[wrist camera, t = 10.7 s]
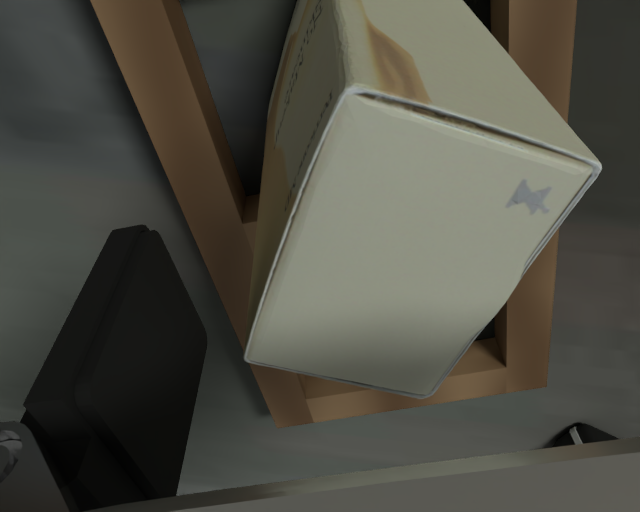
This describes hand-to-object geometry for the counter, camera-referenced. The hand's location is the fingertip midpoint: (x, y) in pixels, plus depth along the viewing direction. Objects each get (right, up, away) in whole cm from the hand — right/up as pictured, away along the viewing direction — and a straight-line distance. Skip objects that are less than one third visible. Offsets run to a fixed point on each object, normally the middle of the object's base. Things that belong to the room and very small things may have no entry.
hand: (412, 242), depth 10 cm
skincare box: (-1, +7, +9) cm, 11 cm away
